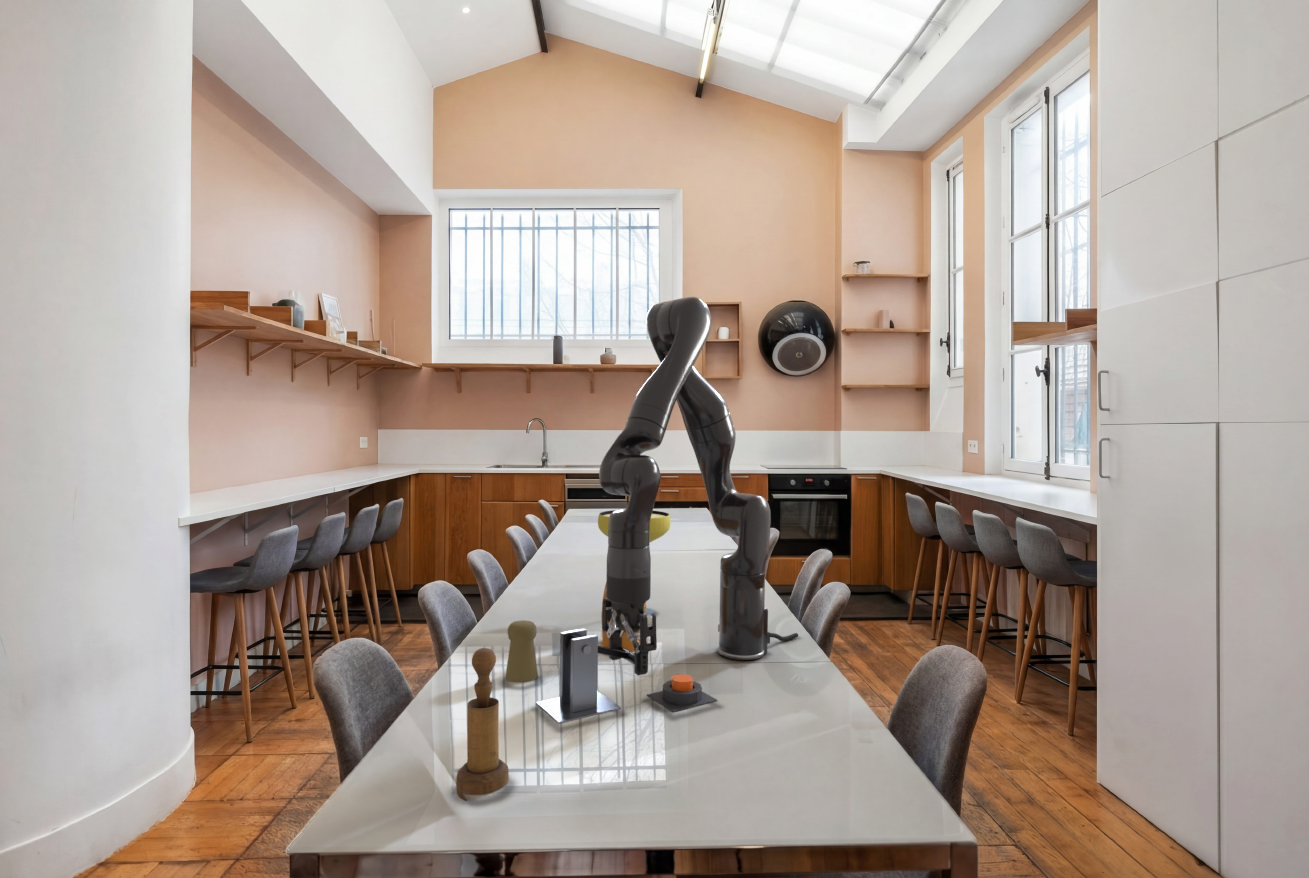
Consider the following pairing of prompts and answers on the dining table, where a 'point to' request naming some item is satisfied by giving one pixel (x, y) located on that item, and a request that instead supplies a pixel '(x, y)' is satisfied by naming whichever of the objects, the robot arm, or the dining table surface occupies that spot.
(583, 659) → the lever stand
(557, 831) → the dining table surface
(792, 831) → the dining table surface
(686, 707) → the control block
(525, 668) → the cork
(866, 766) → the dining table surface
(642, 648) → the robot arm
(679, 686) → the button
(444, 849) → the dining table surface
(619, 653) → the black t-handle
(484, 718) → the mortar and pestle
